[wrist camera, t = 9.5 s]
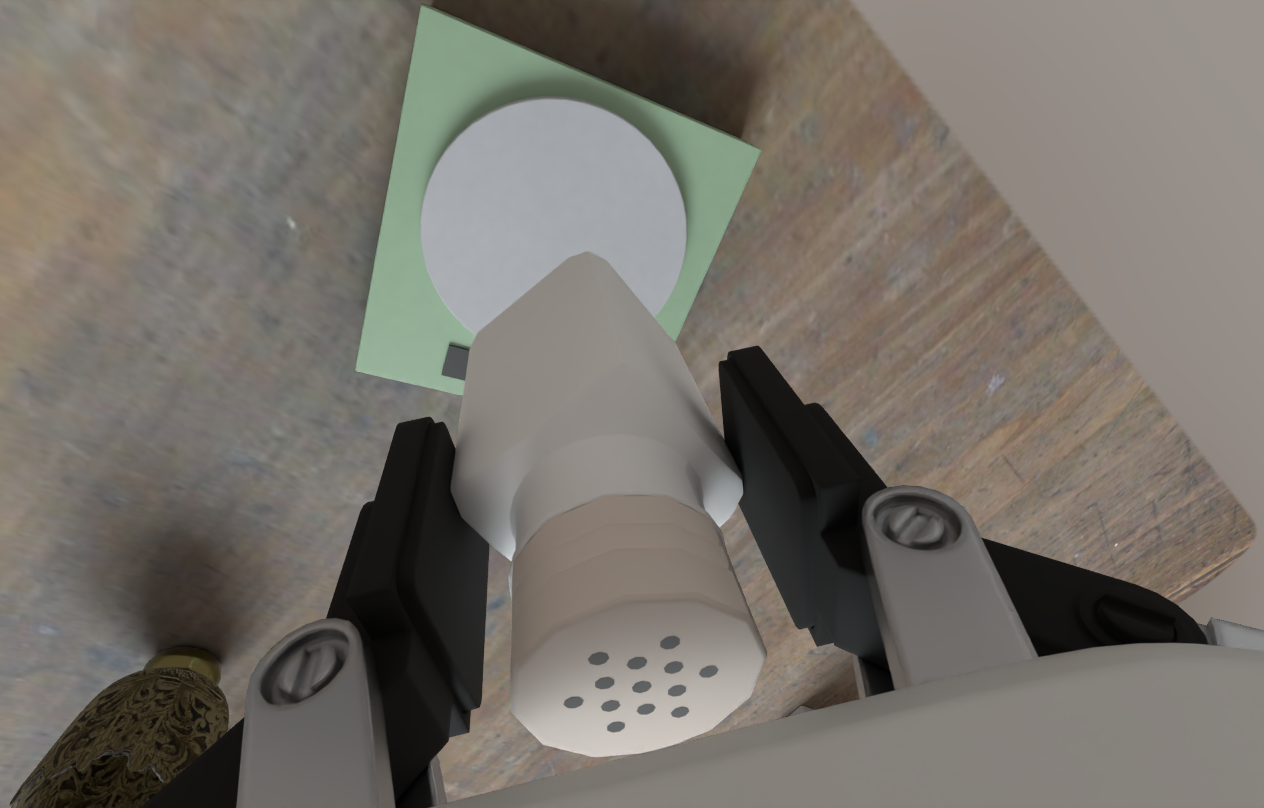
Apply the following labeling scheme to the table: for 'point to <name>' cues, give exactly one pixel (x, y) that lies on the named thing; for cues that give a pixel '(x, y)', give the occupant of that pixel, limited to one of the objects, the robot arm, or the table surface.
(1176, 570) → the table surface
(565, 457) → the pepper shaker
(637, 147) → the kitchen scale
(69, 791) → the cup
